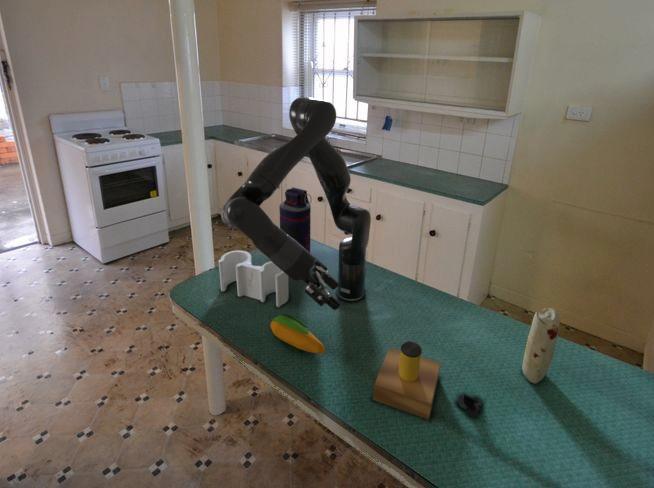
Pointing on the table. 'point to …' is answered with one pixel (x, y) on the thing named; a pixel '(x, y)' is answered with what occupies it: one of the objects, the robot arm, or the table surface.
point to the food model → (541, 344)
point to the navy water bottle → (296, 216)
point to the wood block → (407, 385)
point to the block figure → (469, 404)
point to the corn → (295, 334)
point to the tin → (409, 361)
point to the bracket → (253, 277)
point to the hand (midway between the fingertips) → (337, 296)
